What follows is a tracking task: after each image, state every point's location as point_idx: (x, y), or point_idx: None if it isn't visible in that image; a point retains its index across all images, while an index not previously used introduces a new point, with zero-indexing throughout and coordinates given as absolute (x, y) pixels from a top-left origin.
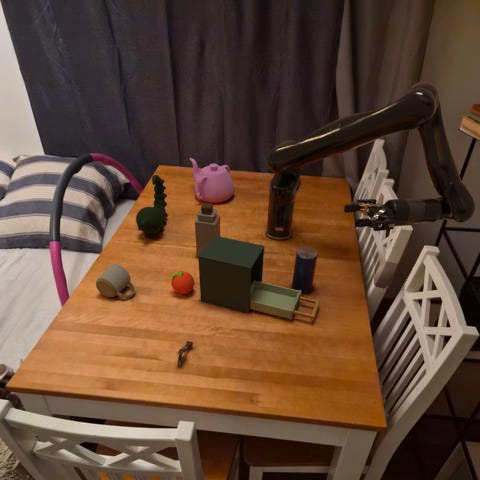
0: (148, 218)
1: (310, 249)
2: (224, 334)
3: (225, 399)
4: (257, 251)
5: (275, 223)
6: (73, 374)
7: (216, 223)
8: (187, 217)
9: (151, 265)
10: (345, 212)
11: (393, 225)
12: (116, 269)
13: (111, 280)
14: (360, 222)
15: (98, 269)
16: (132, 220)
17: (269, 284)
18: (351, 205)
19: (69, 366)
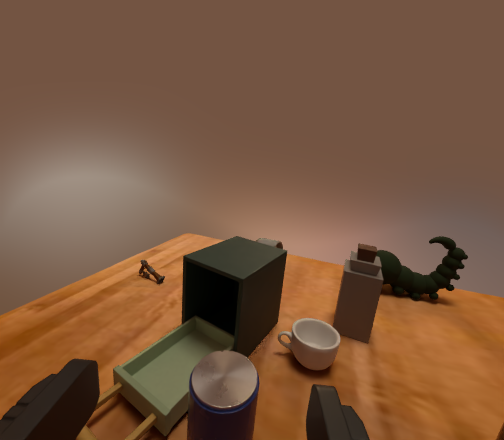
0: None
1: (238, 391)
2: (158, 307)
3: (68, 290)
4: (227, 269)
5: (501, 435)
6: (178, 243)
7: (353, 276)
8: (459, 323)
9: (310, 280)
10: (307, 432)
11: None
12: (271, 241)
13: (258, 241)
14: (43, 381)
15: (300, 257)
16: None
17: None
18: (327, 430)
19: (187, 243)
